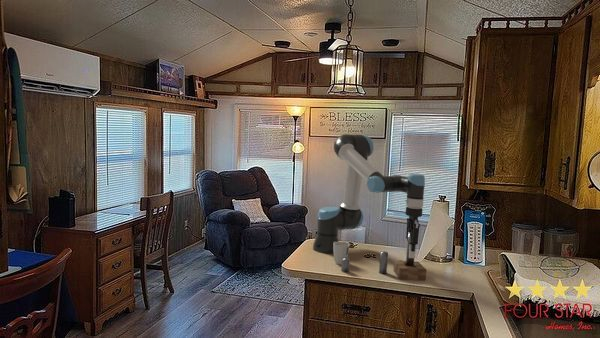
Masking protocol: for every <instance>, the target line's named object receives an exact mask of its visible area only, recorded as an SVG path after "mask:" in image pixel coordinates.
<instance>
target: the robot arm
mask: <svg viewBox="0 0 600 338" xmlns="http://www.w3.org/2000/svg"><path fill="white" fill-rule="evenodd" d="M333 150H334V151H333V152H334V153H335V155H336V156H337V158H339V159H340V160H341V161H342V160H343V161H345V162H346V163H347V171H346V179H345V186H344V193H343V201H342V202H341V203H340V204H339V207H338V206H325V207H321V208H320V209H319V210H318V213H317V226H316V227H317V228H316V229H317V230H316V236H315V239H314V241H313V245H312V250H314V251H316V252H318V253H324V254H334V252H333V243H334V242H340V240H339V239H340V238H339V231H344V230H354V229H358V228H359V227H361V226H362V225H363V221H364V214H363V211H362V209H361V206H360V205H359V202H360V201H359V200H360V194H361V187H362V186H361V185H362V180H363V179H364V180H365V182H366V187H367V189H368V190H369V191H370V192H371V193H377V194H378V193H395V192H396V193H398V192H399V193H406V200H405V201H404V202H406V207H405V216H408V217H407V218H406V232H405V234H406V235H405V238H406V244H407V243H408V232H411V243H409V244H410V247H409V258H414V259H415V258H416V250H417V249H416V247H417V245H418V244H419V235H420V234H419V233H420V226H421V224H420V222H419V218H421V217H422V216H423V208H424V200H425V199H424V196H425V195H424V194H425V186H426V182H425V181H426V177H425V175H423V174H420V173H410V174H408V176H403V175H399V174H398V175H397V174H394V175H390V176H389V175H383V174H382V173H381V172H380V171H378V170H377V169H376V167H375V166H373V165H372V163H370V162H369V161H368V158H369V157H370V156H371V155H372V154H373V153H374V143H373V140H372V139H371V137H370V136H368V135H365V134H346V133H345V134H341V135H340V136H338V137H337V138H336V139H335V141H334V143H333ZM405 254H406V256H407V251H406V253H405Z"/></svg>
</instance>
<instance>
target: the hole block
mask: <svg viewBox="0 0 600 338" xmlns="http://www.w3.org/2000/svg"><path fill="white" fill-rule="evenodd" d="M392 271H393V272H394V273H395V276H396V277H398V280H405V281H406V280H407V281H408V280H409V281H411V280H412V281H426V277H427V269H426V268H425V267H424V266H423V264H421V263H420V261H414V265H407V264H406V260H393V270H392Z"/></svg>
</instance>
